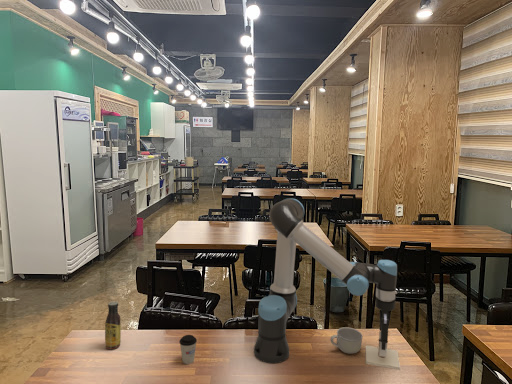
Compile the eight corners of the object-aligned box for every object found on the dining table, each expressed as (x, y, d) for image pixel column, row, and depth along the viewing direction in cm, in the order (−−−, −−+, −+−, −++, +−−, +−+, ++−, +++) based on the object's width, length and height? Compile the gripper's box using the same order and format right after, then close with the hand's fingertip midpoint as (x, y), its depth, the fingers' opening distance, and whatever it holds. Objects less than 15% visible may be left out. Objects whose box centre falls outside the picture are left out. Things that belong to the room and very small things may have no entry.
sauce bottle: (102, 349, 157) (100, 305, 155) (111, 341, 164) (109, 299, 161) (115, 351, 156) (114, 306, 154) (124, 344, 162) (123, 300, 160)
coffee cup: (176, 360, 150) (176, 337, 149) (191, 354, 155) (191, 331, 154) (184, 368, 145) (184, 344, 144) (200, 361, 150) (200, 338, 148)
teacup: (357, 343, 165) (358, 327, 164) (365, 357, 154) (366, 339, 153) (326, 344, 165) (327, 327, 164) (332, 357, 154) (333, 339, 153)
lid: (365, 363, 149) (366, 345, 148) (365, 347, 161) (366, 330, 160) (399, 369, 145) (401, 350, 144) (397, 352, 158) (398, 334, 157)
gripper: (397, 309, 140) (393, 366, 143) (393, 290, 159) (390, 340, 161) (376, 306, 142) (373, 362, 145) (375, 288, 161) (372, 338, 163)
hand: (382, 351), depth 153 cm, fingers open, 7 cm apart
